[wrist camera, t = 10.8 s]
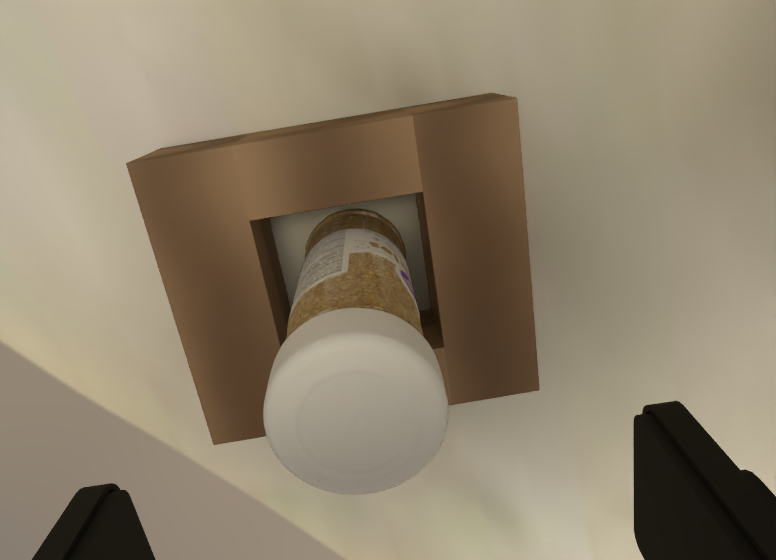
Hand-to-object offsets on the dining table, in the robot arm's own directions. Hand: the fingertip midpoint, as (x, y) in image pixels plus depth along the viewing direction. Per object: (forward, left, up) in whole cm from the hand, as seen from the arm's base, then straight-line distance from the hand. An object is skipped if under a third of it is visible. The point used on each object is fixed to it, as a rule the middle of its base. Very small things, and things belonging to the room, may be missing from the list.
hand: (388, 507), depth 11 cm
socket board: (+1, 0, -17) cm, 17 cm away
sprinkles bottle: (+1, 0, -17) cm, 17 cm away
